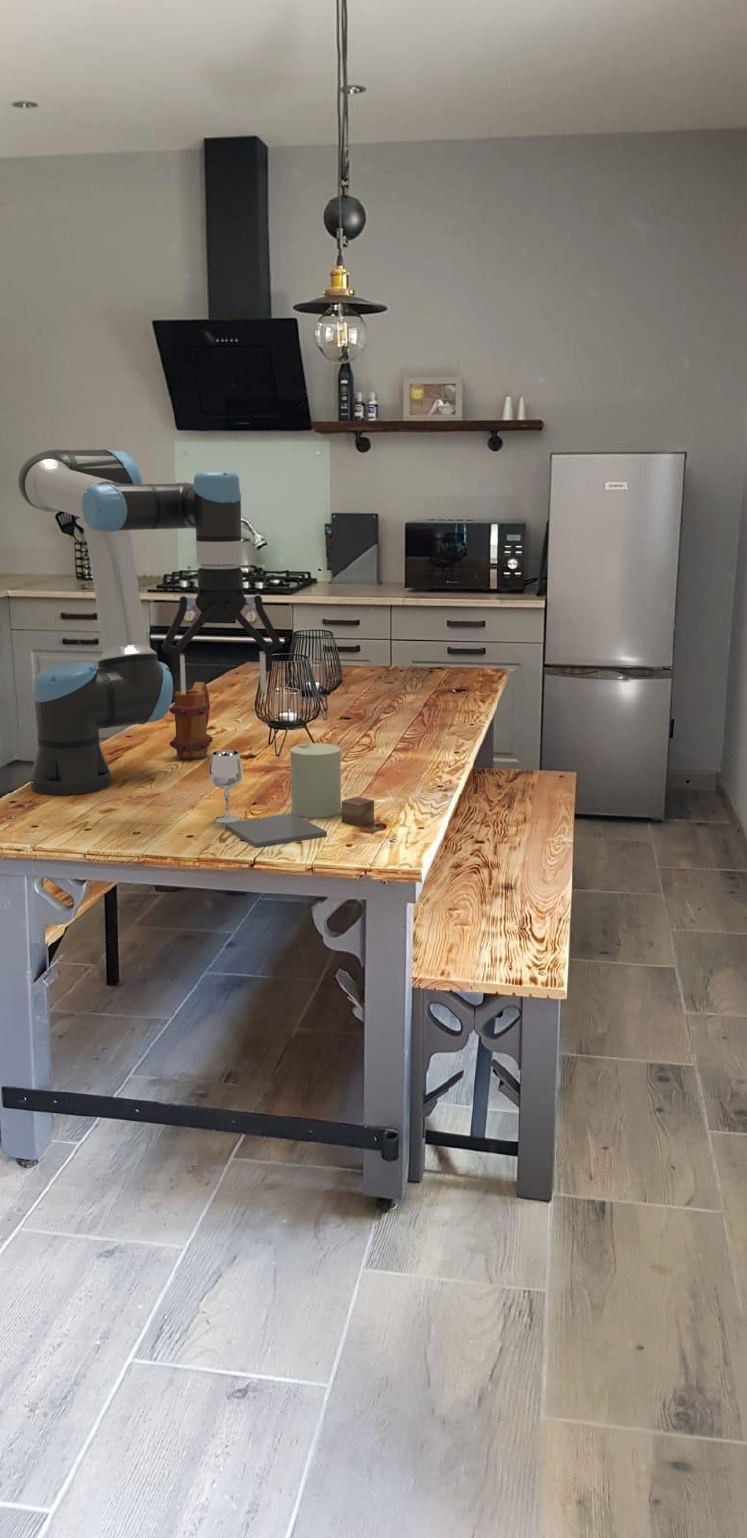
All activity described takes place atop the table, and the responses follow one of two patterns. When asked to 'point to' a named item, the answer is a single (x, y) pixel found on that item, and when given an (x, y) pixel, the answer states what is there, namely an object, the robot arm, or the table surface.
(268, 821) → the coaster
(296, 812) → the can
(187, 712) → the mug
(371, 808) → the walnut block
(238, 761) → the wineglass
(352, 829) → the table surface
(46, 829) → the table surface
